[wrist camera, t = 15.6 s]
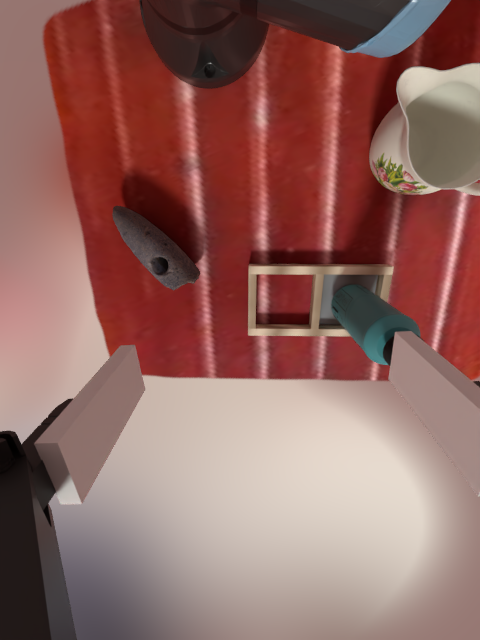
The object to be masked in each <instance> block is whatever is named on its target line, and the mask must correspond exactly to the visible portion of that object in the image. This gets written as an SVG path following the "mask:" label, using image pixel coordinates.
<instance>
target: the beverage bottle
mask: <svg viewBox="0 0 480 640" xmlns="http://www.w3.org/2000/svg"><path fill="white" fill-rule="evenodd" d="M381 298H382V297H380V296H379V297H378V296H377V295H375V294H374V293H373V292H372V291H369V290H367V288H364V287H362V285H348V286H345V287H343V288H341V289H340V290H338V291H337V292H336V294H335V295H334V297H333V299H332V301H331V302H332V303H331V309H332V312H333V313H332V314H334V317H335V318H336V319H337V321H338V322H340V323H341V324H342V327H344V329H345V330H346V332H348V333H349V334H350V335H351V336H352V338H353V339H354V340H355V341H356V342H357V343H358V344H359V345H360V346H359V347H361V348H362V349H363V350H364V351H365V353H366V355H367V356H368V357H369V358H370V359H371V360H373V361H374V362H376V363H379V364H383V365H389V366H390V365H391V358H392V350H393V343H394V336H395V332H401V331H412V332H413V333H414V334H415V335H417V336H418V337H419V338H420V330H419V327H418V325H417V324H416V322H415V321H414V320H413V319H411V318H410V317H408V316H406V315H404V314H403V313H401V312H400V311H398V310H397V309H395V308H394V307H392V306H391V305H389V304H388V303H387V302H386V301H387V300H386V301H384V300H383V299H381ZM350 335H349V336H350ZM420 339H421V340H423V339H422V338H420Z"/></svg>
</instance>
